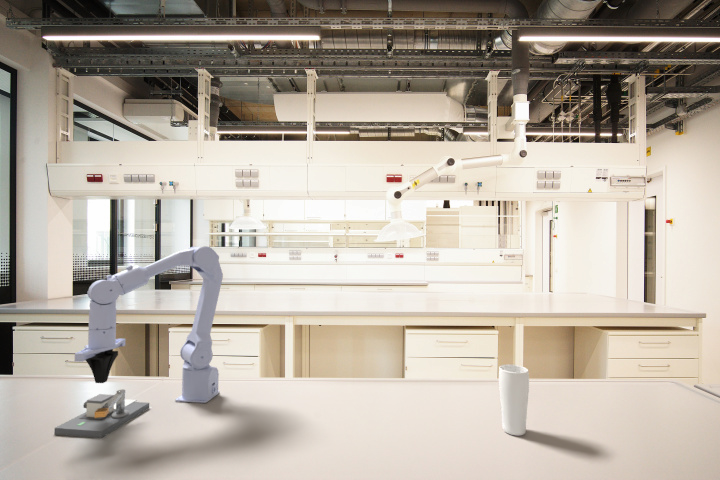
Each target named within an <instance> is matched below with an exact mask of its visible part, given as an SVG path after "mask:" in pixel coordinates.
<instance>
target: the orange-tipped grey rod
mask: <svg viewBox="0 0 720 480" xmlns="http://www.w3.org/2000/svg"><path fill="white" fill-rule="evenodd" d="M113 395H114V396H113V397H112V398H111V399H110V400H109V401H108V402H107V403H106V404H105V405H104V406H103V407H102V408H99V409H97V410H96V411H95V418H98V417H105V416H106V415H107V414H108V413H109V410H110V409H111V408H112V407H113V405H114V404H115V403H116V414H122V413H124V412H125V399H126V389H118V390H116V393H115V394H113Z"/></svg>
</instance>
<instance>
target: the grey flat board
mask: <svg viewBox="0 0 720 480" xmlns="http://www.w3.org/2000/svg"><path fill="white" fill-rule="evenodd" d="M149 409H150V402H143V401H141V402H140V401H138V399H127V398H125V412H124V413H122V414H116V403H115V404H114V411H112V412H110V413H109V414H107V415H106V416H105V417H101V418H99V417H98V418H95V417H86V411H85V412H83V413H82V414H79V415H77V416H75V417H74V418H71V419H69V420H68V421H65V422H64V423H61V424H60V425H57V426H55V427H54V431H53V433H54V435H55V436H56V435H59V436H72V437H82V438H83V437H84V438H95V439H96V438H97V439H102V438H104V437H105V436H107V435H108V434H110V433H112V432H114V431H115V430H117V429H118V428H120V427H122V426H123V425H124V424H126V423H128V422H130V421H131V420H133V419H135V418H136V417H138V416H139V415H141V414H142V413H144V412H146V411H147V410H149Z"/></svg>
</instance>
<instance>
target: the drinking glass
mask: <svg viewBox="0 0 720 480" xmlns="http://www.w3.org/2000/svg"><path fill="white" fill-rule="evenodd" d="M529 388H530V373H529V369H528V368H527V367H524V366H522V365H516V364H502V365H500V366H498V389H499V390H498V392H499V401H500V410H501V413H500V414H501V427H502V430H503V431H504V433H507V434H508V435H511V436H516V437H517V436H523V435H525V434H526V433H527V418H528V417H527V414H528V403H529V392H530V389H529Z"/></svg>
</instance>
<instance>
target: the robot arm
mask: <svg viewBox="0 0 720 480" xmlns="http://www.w3.org/2000/svg"><path fill="white" fill-rule="evenodd" d="M179 266H187V267H188V266H189V267H190V268H191V269H193V270H195V271H197V273H198V274H199V275H200V277H201V278H202V285H201V289H200V293H199V297H198V302H197V305H196V310H195V314H194V318H193V319H194V320H193V323H192V327H191V331H190V333H188V335H187V337H186V339H185V340H186V341H185V342H184V343H183V345H182V346H181V349H180V351H179V355H180V357H181V359H182V360H183V364H182V369H181V370H182V376H181V378H182V379H181V380H182V381H181V383H182V384H181V395H179V396H178V397H176V398H175V399H174V402H185V403H188V402H189V403H203V404H204V403H208V402H209V401H210V400H212V399H213V398H214V397H216V396H217V395H218V394H219V393H220V390H219V375H220V373H219V369H218V368H217V366H212V365H210V364H211V362H212V360H213V350H212V349H213V346H212V345H213V340H212V337H211V331H212V327H213V323H214V317H215V314H216V309H217V306H218V305H217V304H218V300H219V296H220V292H221V286H222V283H223V277H224V274H223V271H222V267H221V264H220V255H219V254H218V253H217V252H216V251H215V249H213V248H212V247H210V246H206V245H205V246H195V245H194V246H191V247H188V248H186V249H181V250H179V251H175V252H174V253H171V254H169V255H167V256H165V257H163V258H161V259H159V260H156V261H154V262H151V263H150V264H148V265H146V266H140V265H137V264H136V265H128V266H126V267H125V270H122V271H119V272H117V273H115V274H108V275H106V276H105V277H106V279H98V280H96V281H94V282H92V283H91V285H90V286H89V288H88V290H87V292H86V293H87V296H88V298H89V299H90V300H89V301H90V302H89V310H88V331H87V333H88V336H87V337H88V339H87V341H88V342H87V344H86V345H84V348H82V349H81V350H80V351H76V352H75V353H74V362H82V363H83V362H86V363H87V365H88V366H89V368H90V370H91V372H92V376H93V379H94V382H95V383H96V384H104V383H107V381H108V379H109V375H110V372H111V369H112V366H113V364H114V362H115V360H116V359H117V357H118V355H119V351H118V350H114V349H118V348H121V347H122V348H123V347H126V342H127V341H126V340H127V339H126V338H117V337H116V336H117V308H116V306H117V300H118V299H119V296H124V295H126V294H129V293H130V292H132V291H135V290H137V289H139V288H141V287H144V286H146V285H147V284H148V283H149V280H150V279H151V278H152V277H155V276H156V275H159V274H162V273H165V272H167V271H169V270H172V269H174V268H176V267H179Z"/></svg>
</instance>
